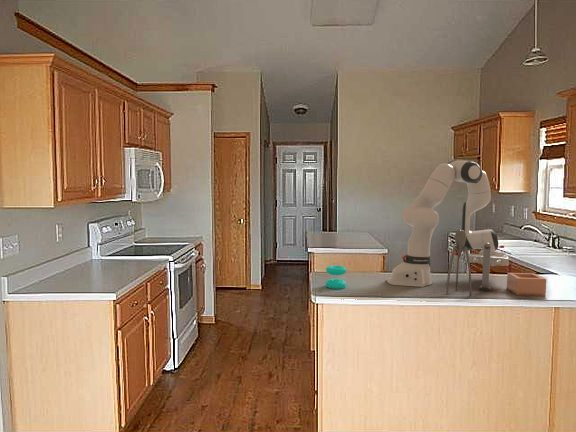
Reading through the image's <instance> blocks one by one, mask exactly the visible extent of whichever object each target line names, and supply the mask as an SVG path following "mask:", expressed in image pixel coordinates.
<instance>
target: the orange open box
mask: <svg viewBox="0 0 576 432" xmlns="http://www.w3.org/2000/svg"><path fill="white" fill-rule="evenodd" d="M506 290H508V291H509V292H511V293H512V294H514V295H516V296H525V297H526V296H527V297H529V296H530V297H531V296H532V297H546V293H547V291H546V290H547V278H545V277H543V276H541V275H539V274H536V273H535V272H534V273H533V272H532V273H530V272H507V276H506Z"/></svg>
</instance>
